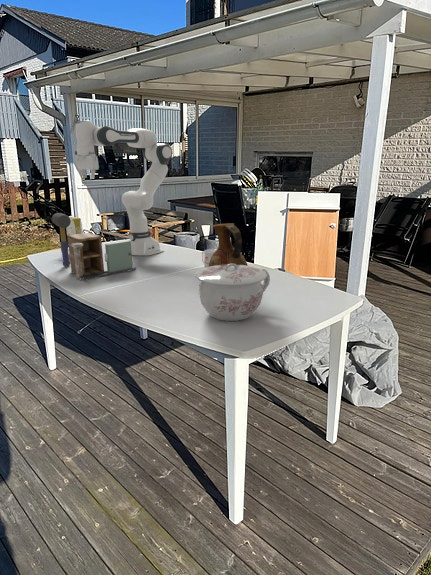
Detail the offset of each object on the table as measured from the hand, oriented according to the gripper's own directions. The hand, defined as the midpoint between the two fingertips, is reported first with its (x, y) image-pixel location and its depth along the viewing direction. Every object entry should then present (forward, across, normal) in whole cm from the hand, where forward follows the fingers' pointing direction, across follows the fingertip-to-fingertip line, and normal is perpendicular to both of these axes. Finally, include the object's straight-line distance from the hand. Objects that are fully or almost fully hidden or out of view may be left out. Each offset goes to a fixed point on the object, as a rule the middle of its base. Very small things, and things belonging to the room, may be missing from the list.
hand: (88, 178), depth 225 cm
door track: (+48, -30, +8) cm, 57 cm away
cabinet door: (+48, -30, +1) cm, 57 cm away
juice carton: (+48, +28, -1) cm, 56 cm away
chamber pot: (+48, -116, +2) cm, 126 cm away
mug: (+48, -62, -36) cm, 86 cm away
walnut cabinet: (+48, -22, +17) cm, 56 cm away
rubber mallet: (+48, 0, +18) cm, 52 cm away
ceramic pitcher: (+48, -88, -24) cm, 103 cm away
